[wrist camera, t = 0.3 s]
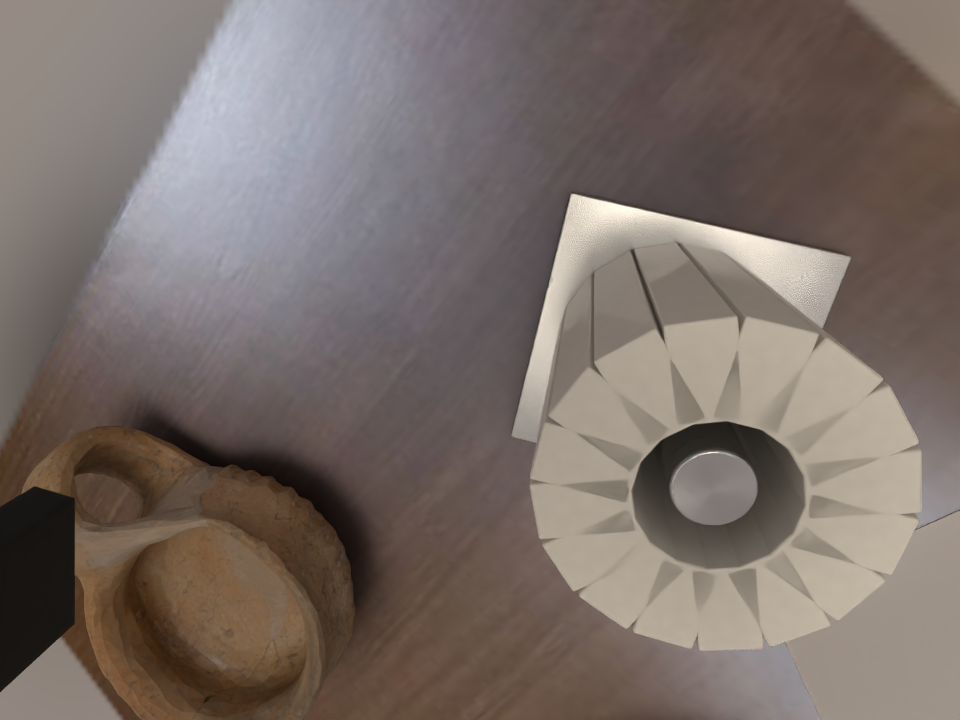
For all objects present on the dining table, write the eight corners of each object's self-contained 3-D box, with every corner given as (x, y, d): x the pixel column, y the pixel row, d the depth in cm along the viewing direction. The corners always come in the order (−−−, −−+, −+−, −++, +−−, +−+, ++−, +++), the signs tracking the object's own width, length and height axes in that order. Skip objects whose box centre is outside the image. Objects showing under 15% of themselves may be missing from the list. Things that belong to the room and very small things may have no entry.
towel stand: (571, 191, 29) (554, 226, 17) (843, 253, 28) (1046, 340, 16) (512, 428, 33) (462, 602, 21) (748, 490, 32) (848, 712, 20)
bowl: (38, 544, 39) (-113, 626, 29) (174, 357, 38) (64, 376, 28) (280, 716, 40) (213, 853, 30) (418, 538, 39) (396, 618, 29)
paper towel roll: (587, 220, 29) (582, 277, 16) (819, 274, 28) (995, 375, 16) (534, 423, 32) (498, 595, 20) (739, 477, 31) (833, 691, 19)
